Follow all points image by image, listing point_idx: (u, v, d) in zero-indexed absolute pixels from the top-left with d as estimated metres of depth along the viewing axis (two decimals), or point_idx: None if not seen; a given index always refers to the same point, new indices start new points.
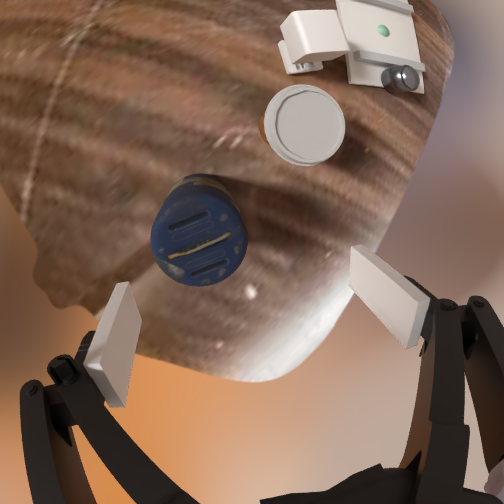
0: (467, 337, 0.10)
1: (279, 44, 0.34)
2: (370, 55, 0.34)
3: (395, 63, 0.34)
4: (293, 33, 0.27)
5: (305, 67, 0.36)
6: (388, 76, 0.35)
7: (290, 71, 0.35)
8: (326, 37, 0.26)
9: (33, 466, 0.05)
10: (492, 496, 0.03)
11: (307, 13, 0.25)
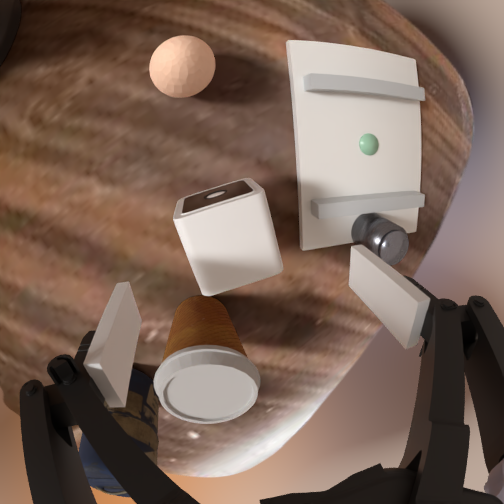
0: (467, 337, 0.10)
1: None
2: (337, 209, 0.27)
3: (377, 210, 0.28)
4: None
5: None
6: (361, 237, 0.29)
7: None
8: (237, 262, 0.20)
9: (33, 466, 0.05)
10: (492, 496, 0.03)
11: (200, 219, 0.18)
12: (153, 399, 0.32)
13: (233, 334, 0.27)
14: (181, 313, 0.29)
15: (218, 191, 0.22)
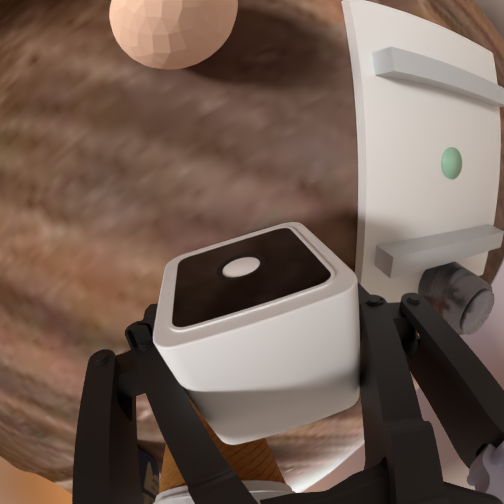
0: (401, 335, 0.11)
1: None
2: (415, 261, 0.17)
3: (458, 257, 0.18)
4: None
5: None
6: (435, 296, 0.18)
7: None
8: (286, 406, 0.09)
9: (85, 436, 0.06)
10: (492, 496, 0.03)
11: (215, 350, 0.08)
12: (151, 481, 0.21)
13: (260, 443, 0.16)
14: None
15: (245, 256, 0.11)
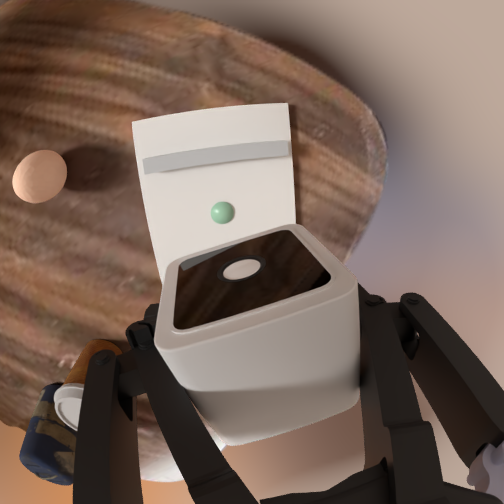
0: (400, 335, 0.11)
1: None
2: None
3: None
4: None
5: None
6: None
7: None
8: (287, 407, 0.09)
9: (85, 436, 0.06)
10: (492, 496, 0.03)
11: (216, 353, 0.08)
12: None
13: None
14: (82, 353, 0.32)
15: (245, 258, 0.11)
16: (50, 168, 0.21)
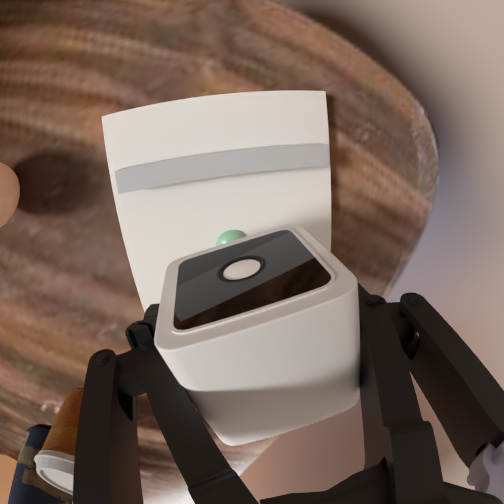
0: (400, 335, 0.11)
1: None
2: None
3: None
4: None
5: None
6: None
7: None
8: (287, 407, 0.09)
9: (85, 436, 0.06)
10: (492, 496, 0.03)
11: (216, 353, 0.08)
12: None
13: None
14: (63, 406, 0.23)
15: (246, 258, 0.11)
16: None
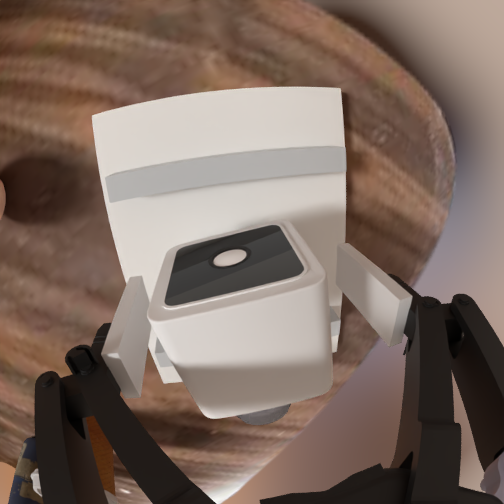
0: (452, 335, 0.10)
1: None
2: None
3: None
4: None
5: None
6: None
7: None
8: (261, 385, 0.11)
9: (44, 458, 0.05)
10: (492, 496, 0.03)
11: (197, 327, 0.09)
12: None
13: None
14: None
15: (235, 248, 0.12)
16: None
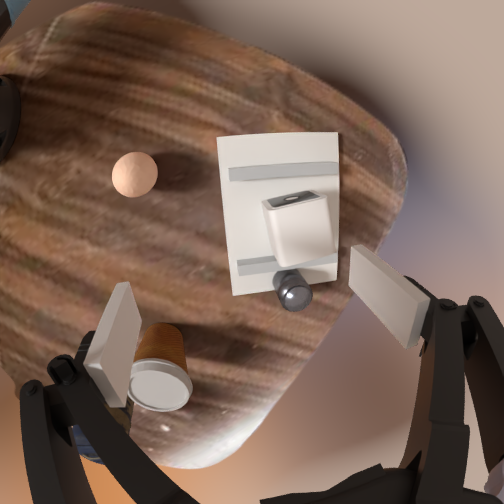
0: (467, 337, 0.10)
1: None
2: (253, 268, 0.38)
3: (289, 268, 0.39)
4: (270, 231, 0.30)
5: None
6: (275, 288, 0.40)
7: None
8: (307, 243, 0.29)
9: (33, 466, 0.05)
10: (492, 496, 0.03)
11: (287, 212, 0.28)
12: None
13: (178, 352, 0.37)
14: (147, 335, 0.40)
15: (292, 196, 0.31)
16: (150, 168, 0.29)
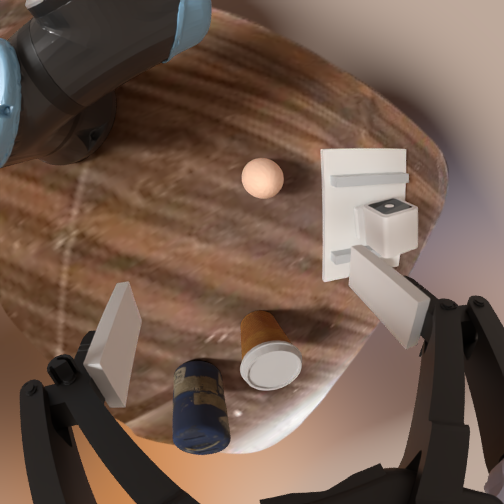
0: (467, 337, 0.10)
1: (355, 211, 0.43)
2: (346, 258, 0.45)
3: None
4: (377, 231, 0.37)
5: None
6: None
7: (360, 239, 0.45)
8: (403, 241, 0.36)
9: (33, 466, 0.05)
10: (492, 496, 0.03)
11: (395, 218, 0.34)
12: (221, 382, 0.49)
13: (284, 334, 0.44)
14: (249, 322, 0.47)
15: (388, 204, 0.38)
16: (282, 174, 0.36)
